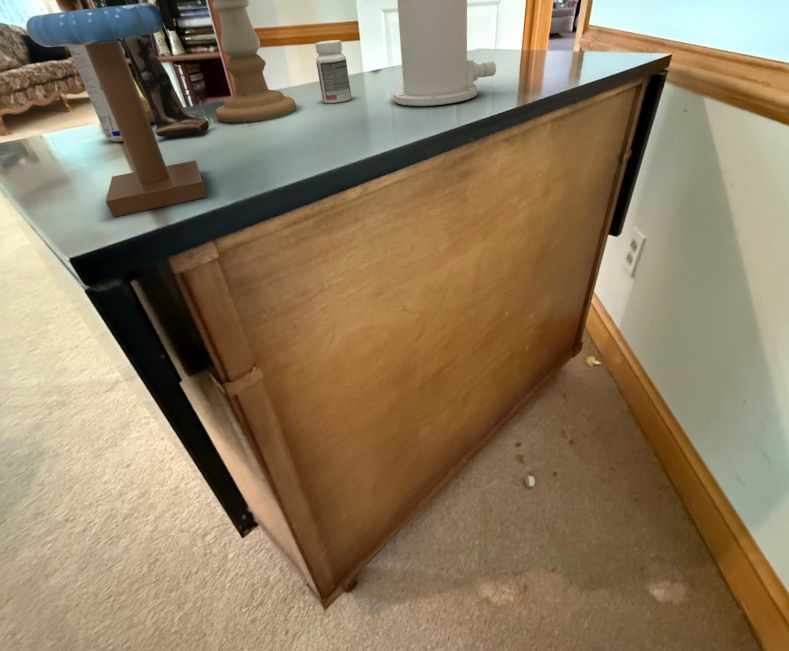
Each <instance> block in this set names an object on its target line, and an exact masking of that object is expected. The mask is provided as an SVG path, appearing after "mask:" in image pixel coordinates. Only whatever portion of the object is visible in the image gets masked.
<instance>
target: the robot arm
mask: <svg viewBox="0 0 789 651" xmlns="http://www.w3.org/2000/svg"><path fill="white" fill-rule="evenodd" d="M155 1H156V4H157V8H158V9H159V11H160V12H161V15H162V18H163V21H164V24H163V27H164V28H165V31H168V32H176V31H177V30H176V27H175V23H174V19H175V20H176V19H182V18H181V13H180V10H179V7H178V3H177V0H155ZM396 1H397V14H398V15H397V16H398V29H399V43H400V58H401V59H400V60H401V72H402V86H403V87H402V88H400V89H398V90H396V91H395V92H394V93H393V100H394V101H393V102H395V104H399V105H402V106H410V107H431V106H442V105H450V104H451V105H452V104H456V103H461V102H464V101H468V100H471V99H474V98H475V97H476V96H477V95H478V86H477V84H475V83H474V82H476V81H477V80H478V78H488V77H493V76H495V75H496V71H497V65H496V63H495V61H488V62H482V63H476V62H474V60H473V59H472V60H471V59H468V0H396ZM104 2H105V4H106V7H111V6H121V5H128V4H127V1H126V0H104Z"/></svg>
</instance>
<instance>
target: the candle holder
mask: <svg viewBox="0 0 789 651" xmlns="http://www.w3.org/2000/svg"><path fill="white" fill-rule="evenodd" d="M249 5H250V0H213V2H212V8H213V9H214V10H216V11H217V12H218V14H219V20H220V46H221V50H222V51H223V52H224V53H225V54H226V55H227V56H229V58H228V60H227V63H226V64H225V69H226V71H228V73H229V74H230V75H231V76H232V77H233V84H234V89H235V90H234V91H235V94H233V95H230V96H228V97H226V98H225V99H224V101H223V105H221V106H219V107H217V109H216V110H215V116H216V118H217V120H218V121H220V122H223V123H234V124H236V123H251V122H258V121H263V120H264V121H265V120H269V119H274V118H278V117H282V116H285V115H288V114H290V113H292V112H294V111H295V110H296V108H297V106H296V105H297V104H296V101H295V99H294V98H292V97H290V96H285V95H284V93H283V91H281V90H276V89H269V87H268V84H267V82H266V79H265V76H264V70H265V67H266V60H265V59H263V58H262V56H260V55H259V54H258V51H259V50H260V46H261V41H260V39H259V36H258V35H257V33H256V31H255V29H254V26H253V24H252V22H251V19H250V16H249V14H248V10H247V8H248V7H249Z"/></svg>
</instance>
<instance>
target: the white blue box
mask: <svg viewBox="0 0 789 651" xmlns="http://www.w3.org/2000/svg"><path fill="white" fill-rule="evenodd" d="M109 41H116V40H109ZM101 42H107V41H101ZM94 43H99V42H94ZM86 44H91V43H86ZM84 45H85V44H78V45H69V46H67V48H68V50H69V53H70V55H71V58H72V60H73V62H74V65H75V67H76V69H77V71H78V74H79V77H80V79H81V82H82V84H83V86H84V88H85V91H86V93H87V95H88V98H89V99H90V102H91V105H92V108H93V110H94V112H95V114H96V117H97V119H98V121H99V123H100V125H101V128H102V130H103V133H104V135H105V137H106V139H107V140H109V141H111V142H115V143H116V142H117V143H120V142H123V143H124V141H123V139H122V136H121V134H120V131H119V129H118V127H117V124H116V122H115V119H114V117H113V114H112V112H111V110H110V107H109V105H108V102H107V100H106V97H105V95H104V93H103V90H102V88H101V85H100V83H99V80H98V78H97V75H96V73H95V71H94V68H93V66H92V63H91V61H90V58H89V56H88V54H87V51H86V49H85V46H84Z"/></svg>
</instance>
